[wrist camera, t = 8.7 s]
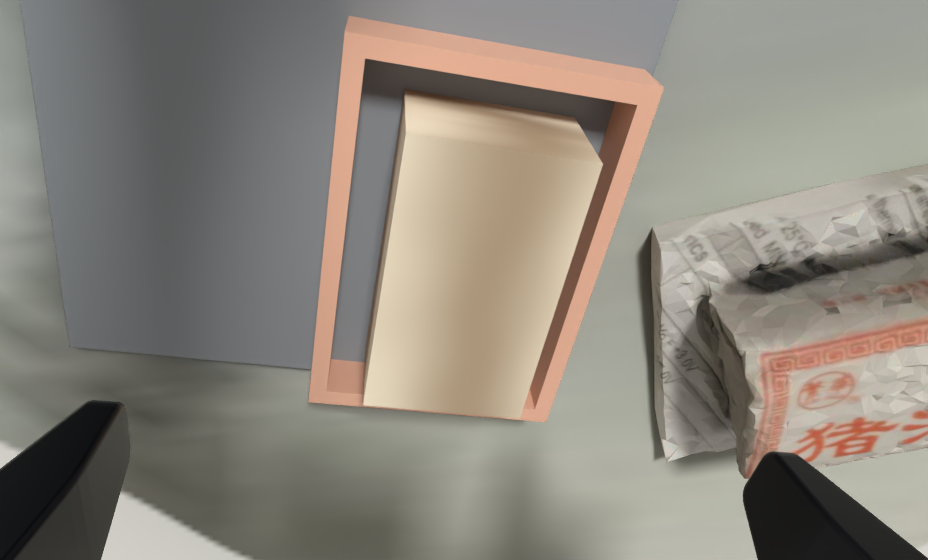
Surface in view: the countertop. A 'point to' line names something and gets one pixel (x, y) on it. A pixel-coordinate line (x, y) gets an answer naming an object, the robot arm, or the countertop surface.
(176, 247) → the mat
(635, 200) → the countertop surface
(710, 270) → the packaged product
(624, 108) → the frame
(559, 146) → the cream rectangular prism
